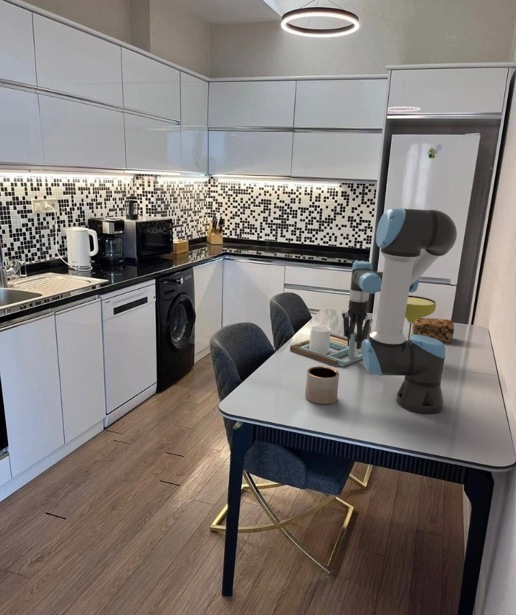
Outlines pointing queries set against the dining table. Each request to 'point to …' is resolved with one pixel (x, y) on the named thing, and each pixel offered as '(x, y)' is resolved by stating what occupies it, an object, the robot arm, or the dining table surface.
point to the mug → (320, 339)
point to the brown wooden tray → (316, 356)
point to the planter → (322, 385)
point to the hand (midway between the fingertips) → (353, 354)
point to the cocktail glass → (418, 309)
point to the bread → (434, 328)
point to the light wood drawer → (347, 341)
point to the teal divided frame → (341, 351)
